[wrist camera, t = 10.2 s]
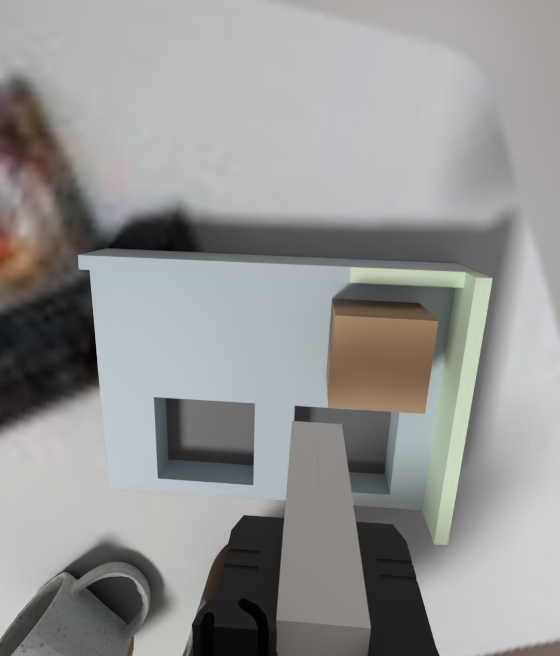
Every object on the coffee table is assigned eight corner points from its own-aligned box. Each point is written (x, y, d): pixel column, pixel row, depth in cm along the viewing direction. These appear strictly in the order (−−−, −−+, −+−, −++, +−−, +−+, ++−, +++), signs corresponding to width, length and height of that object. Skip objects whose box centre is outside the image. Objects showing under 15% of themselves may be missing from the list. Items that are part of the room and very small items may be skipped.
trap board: (107, 248, 28) (60, 258, 23) (457, 263, 27) (493, 277, 22) (123, 466, 33) (87, 517, 27) (424, 487, 32) (447, 545, 26)
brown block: (331, 298, 26) (335, 315, 22) (419, 303, 25) (438, 321, 22) (325, 378, 27) (328, 407, 23) (408, 383, 27) (425, 414, 23)
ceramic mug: (98, 659, 38) (49, 767, 31) (24, 601, 37) (-46, 700, 30) (179, 594, 36) (147, 695, 29) (104, 531, 35) (49, 619, 27)
